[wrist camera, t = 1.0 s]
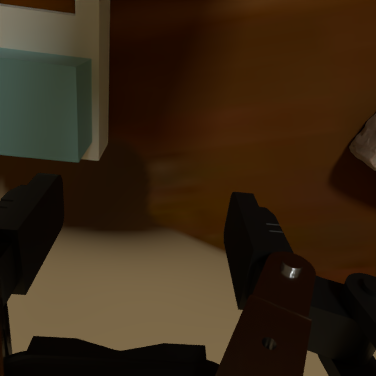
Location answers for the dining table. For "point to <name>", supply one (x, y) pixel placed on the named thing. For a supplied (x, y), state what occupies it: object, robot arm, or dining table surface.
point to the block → (45, 105)
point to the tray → (68, 49)
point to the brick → (366, 144)
